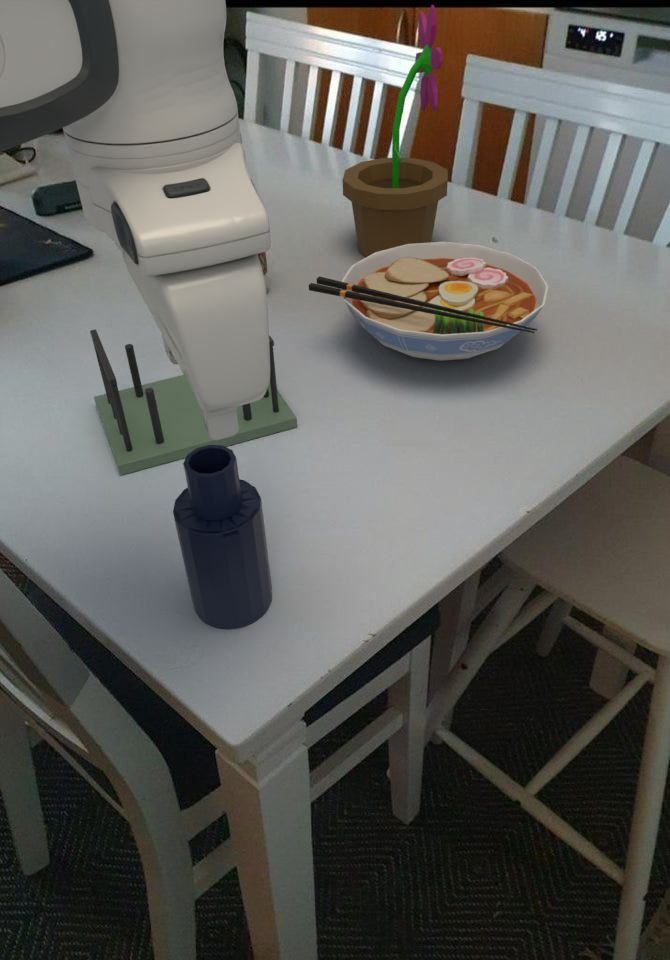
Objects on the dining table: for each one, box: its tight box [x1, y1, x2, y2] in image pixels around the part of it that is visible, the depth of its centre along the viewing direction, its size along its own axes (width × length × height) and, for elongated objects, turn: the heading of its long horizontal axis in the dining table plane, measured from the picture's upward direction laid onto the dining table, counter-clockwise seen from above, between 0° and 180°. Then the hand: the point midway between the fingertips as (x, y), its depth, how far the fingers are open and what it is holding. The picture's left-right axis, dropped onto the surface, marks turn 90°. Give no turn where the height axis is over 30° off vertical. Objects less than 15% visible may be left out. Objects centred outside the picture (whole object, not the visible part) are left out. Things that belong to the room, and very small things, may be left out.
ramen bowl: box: [308, 241, 550, 361], centre depth 91 cm, size 25×23×8 cm
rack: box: [89, 329, 298, 476], centre depth 81 cm, size 18×13×10 cm
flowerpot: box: [342, 4, 449, 258], centre depth 105 cm, size 14×14×30 cm
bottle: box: [172, 445, 273, 630], centre depth 60 cm, size 6×6×14 cm
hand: (200, 392), depth 52 cm, fingers open, 8 cm apart
